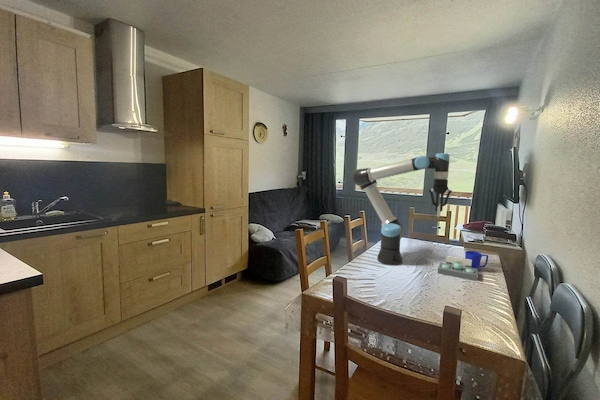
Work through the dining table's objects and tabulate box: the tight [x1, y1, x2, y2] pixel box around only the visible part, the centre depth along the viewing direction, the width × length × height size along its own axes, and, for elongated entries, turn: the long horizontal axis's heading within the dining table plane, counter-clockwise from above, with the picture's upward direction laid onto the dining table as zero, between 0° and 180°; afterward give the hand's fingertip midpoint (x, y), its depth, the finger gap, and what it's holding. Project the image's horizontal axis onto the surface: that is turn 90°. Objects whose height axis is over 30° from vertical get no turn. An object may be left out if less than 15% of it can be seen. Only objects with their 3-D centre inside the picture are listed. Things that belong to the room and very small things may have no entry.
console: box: [437, 261, 479, 282], centre depth 158 cm, size 19×12×3 cm, turn 58°
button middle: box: [453, 263, 462, 271], centre depth 157 cm, size 4×4×3 cm
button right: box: [465, 268, 475, 273], centre depth 154 cm, size 4×4×3 cm
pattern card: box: [445, 255, 472, 267], centre depth 164 cm, size 13×1×7 cm, turn 58°
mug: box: [464, 250, 489, 271], centre depth 164 cm, size 8×12×10 cm
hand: (438, 216), depth 174 cm, fingers closed
